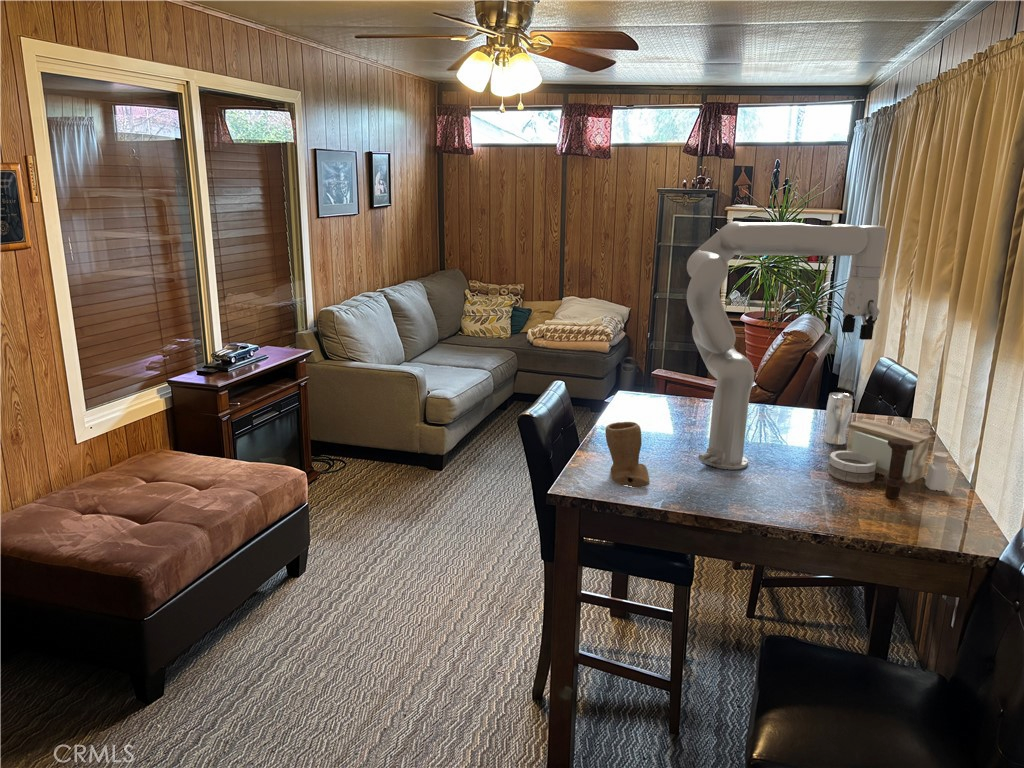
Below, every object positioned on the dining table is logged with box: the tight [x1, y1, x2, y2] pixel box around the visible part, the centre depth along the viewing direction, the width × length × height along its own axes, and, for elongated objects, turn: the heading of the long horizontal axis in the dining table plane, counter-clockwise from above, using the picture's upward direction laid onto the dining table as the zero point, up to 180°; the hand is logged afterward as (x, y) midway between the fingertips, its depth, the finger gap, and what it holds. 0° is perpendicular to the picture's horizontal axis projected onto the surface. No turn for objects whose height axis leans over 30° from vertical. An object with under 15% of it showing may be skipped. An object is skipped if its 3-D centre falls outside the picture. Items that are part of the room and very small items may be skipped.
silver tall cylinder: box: [823, 392, 854, 446], centre depth 224 cm, size 7×7×15 cm
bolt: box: [883, 438, 914, 500], centre depth 183 cm, size 6×5×15 cm
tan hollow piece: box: [605, 421, 650, 488], centre depth 192 cm, size 15×12×15 cm
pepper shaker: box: [924, 452, 950, 492], centre depth 190 cm, size 4×4×10 cm
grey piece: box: [828, 431, 914, 477], centre depth 195 cm, size 12×18×8 cm, turn 30°
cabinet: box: [827, 418, 933, 484], centre depth 198 cm, size 21×19×12 cm
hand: (856, 335), depth 198 cm, fingers open, 9 cm apart
